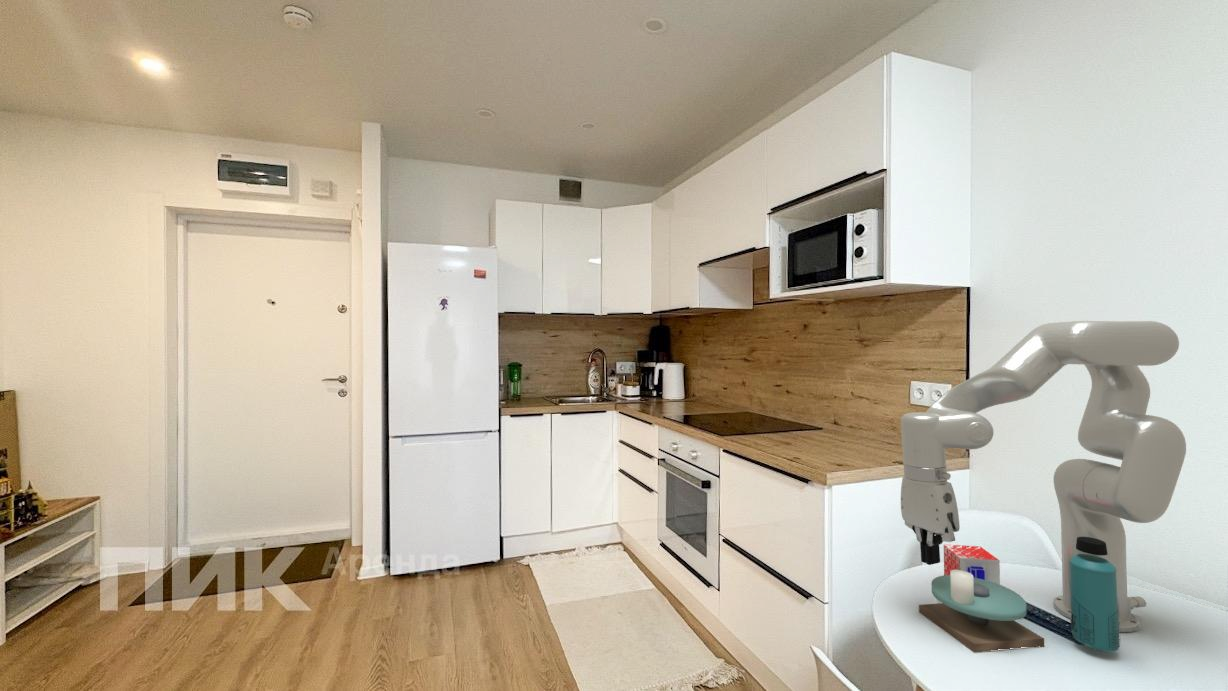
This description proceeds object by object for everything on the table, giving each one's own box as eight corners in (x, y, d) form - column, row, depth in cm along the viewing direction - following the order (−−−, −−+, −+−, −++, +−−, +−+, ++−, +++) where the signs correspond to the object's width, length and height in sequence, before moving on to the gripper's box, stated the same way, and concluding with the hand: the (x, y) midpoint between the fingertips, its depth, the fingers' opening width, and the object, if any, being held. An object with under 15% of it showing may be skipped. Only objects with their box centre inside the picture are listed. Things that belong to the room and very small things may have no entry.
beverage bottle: (1131, 663, 86) (1128, 547, 86) (1086, 658, 87) (1083, 544, 87) (1102, 641, 92) (1099, 533, 92) (1061, 637, 93) (1058, 531, 94)
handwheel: (934, 608, 94) (933, 574, 94) (929, 576, 107) (928, 546, 107) (1035, 629, 87) (1035, 591, 87) (1016, 592, 100) (1016, 560, 100)
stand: (980, 607, 105) (979, 582, 105) (1044, 646, 91) (1043, 618, 91) (918, 612, 103) (918, 587, 103) (974, 652, 89) (973, 623, 89)
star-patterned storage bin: (981, 579, 117) (980, 546, 117) (1000, 596, 109) (999, 560, 110) (943, 577, 119) (943, 544, 119) (960, 593, 111) (959, 557, 111)
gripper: (974, 479, 95) (980, 574, 95) (908, 463, 110) (913, 546, 110) (944, 484, 93) (950, 581, 93) (881, 467, 108) (886, 551, 107)
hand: (930, 562), depth 101 cm, fingers closed
